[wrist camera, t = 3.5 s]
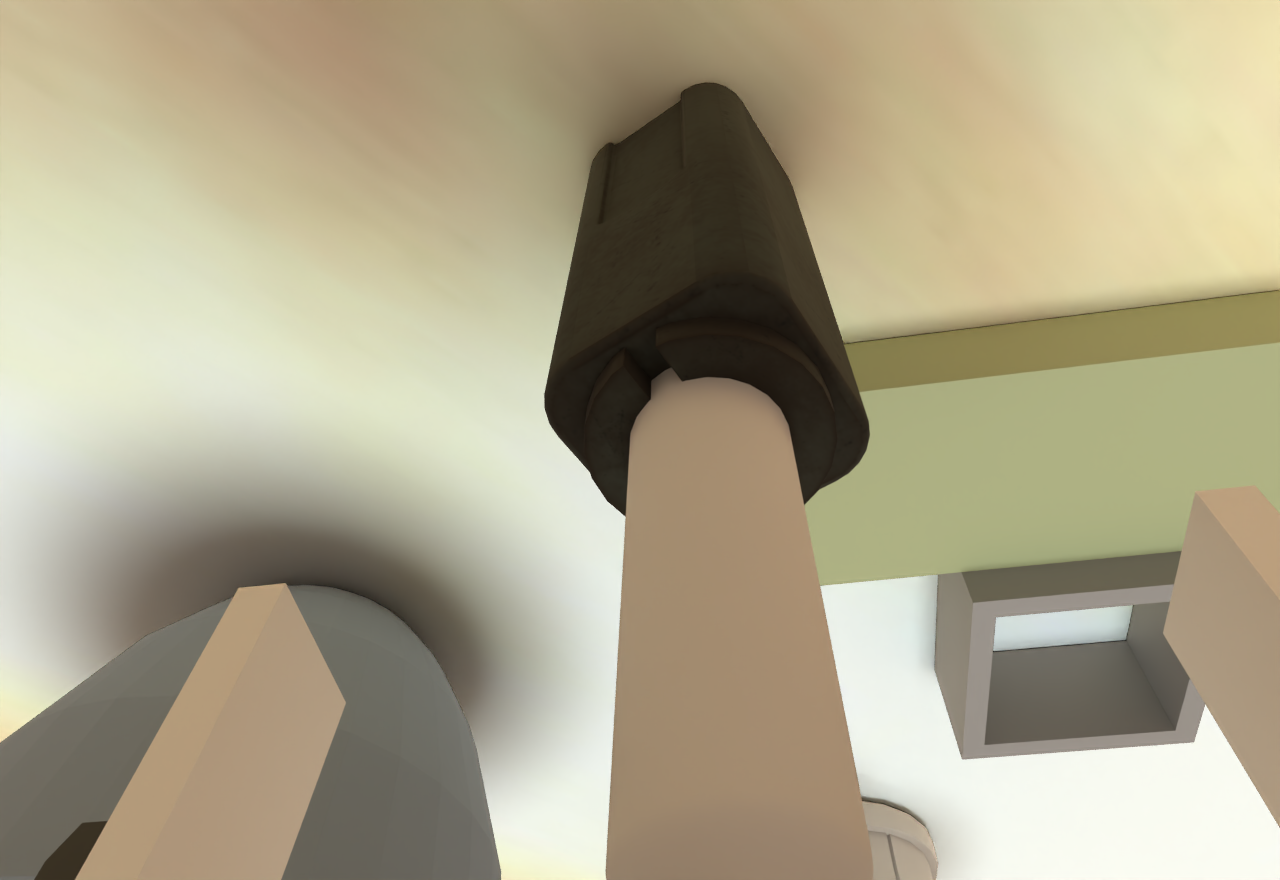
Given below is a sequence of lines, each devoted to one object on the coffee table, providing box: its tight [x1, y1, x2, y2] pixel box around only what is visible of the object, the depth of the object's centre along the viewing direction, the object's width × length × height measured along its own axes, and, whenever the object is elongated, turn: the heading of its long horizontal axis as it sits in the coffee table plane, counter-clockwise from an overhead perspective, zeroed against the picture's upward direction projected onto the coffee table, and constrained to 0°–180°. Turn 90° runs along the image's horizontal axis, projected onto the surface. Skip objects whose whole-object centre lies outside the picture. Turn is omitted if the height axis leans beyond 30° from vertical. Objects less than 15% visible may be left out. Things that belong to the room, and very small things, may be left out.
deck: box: [804, 290, 1280, 759], centre depth 33 cm, size 18×17×4 cm
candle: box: [544, 83, 874, 880], centre depth 17 cm, size 5×5×25 cm
